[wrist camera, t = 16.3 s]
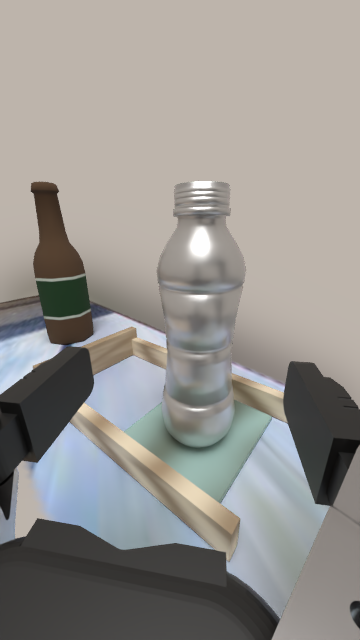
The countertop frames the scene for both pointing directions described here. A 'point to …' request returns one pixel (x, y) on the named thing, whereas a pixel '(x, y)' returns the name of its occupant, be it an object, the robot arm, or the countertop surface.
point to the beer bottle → (59, 273)
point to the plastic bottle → (200, 314)
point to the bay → (181, 445)
